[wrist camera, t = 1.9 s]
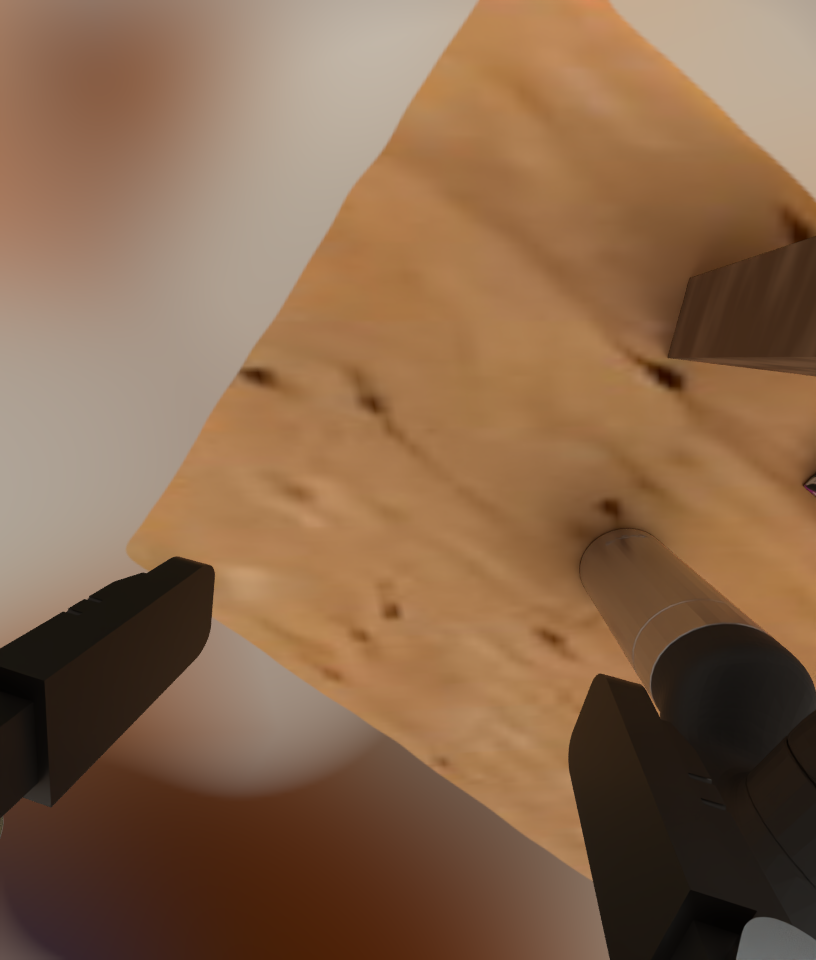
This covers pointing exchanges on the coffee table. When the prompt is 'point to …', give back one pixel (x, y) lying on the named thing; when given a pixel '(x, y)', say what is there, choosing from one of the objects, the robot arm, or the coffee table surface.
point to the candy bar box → (811, 485)
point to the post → (753, 313)
